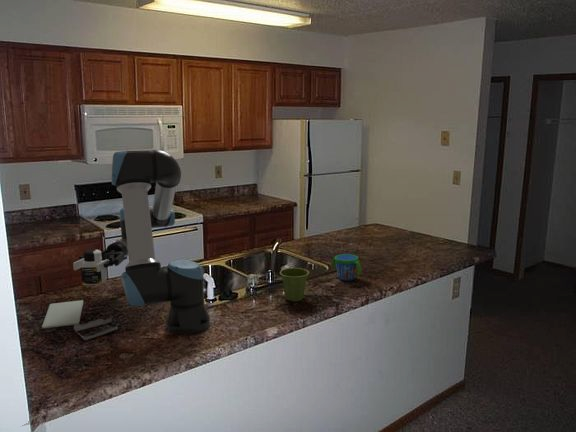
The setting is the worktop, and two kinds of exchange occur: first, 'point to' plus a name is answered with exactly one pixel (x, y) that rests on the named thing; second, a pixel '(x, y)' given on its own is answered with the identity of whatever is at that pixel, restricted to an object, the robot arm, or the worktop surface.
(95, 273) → the medicine bottle
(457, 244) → the worktop surface
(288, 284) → the plant pot
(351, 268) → the snack cup
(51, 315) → the rubber mat
